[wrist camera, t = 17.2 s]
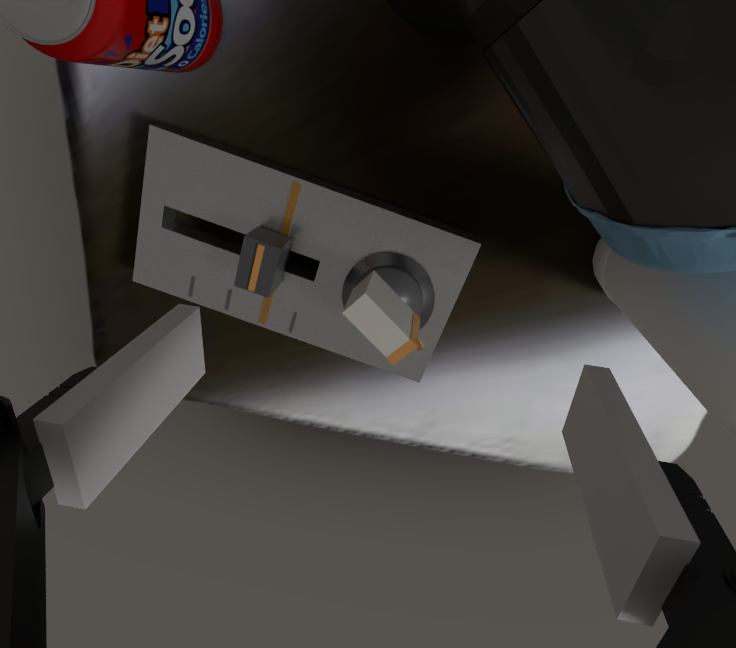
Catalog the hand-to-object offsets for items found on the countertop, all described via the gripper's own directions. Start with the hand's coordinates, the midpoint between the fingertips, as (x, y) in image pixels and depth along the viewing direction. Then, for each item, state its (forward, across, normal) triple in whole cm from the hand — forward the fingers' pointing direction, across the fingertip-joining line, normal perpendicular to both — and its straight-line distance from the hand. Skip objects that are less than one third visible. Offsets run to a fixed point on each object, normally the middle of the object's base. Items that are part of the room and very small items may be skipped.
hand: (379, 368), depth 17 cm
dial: (+24, -2, -8) cm, 25 cm away
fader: (+26, -13, -6) cm, 30 cm away
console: (+26, -10, -6) cm, 29 cm away
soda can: (+27, -21, +12) cm, 36 cm away
